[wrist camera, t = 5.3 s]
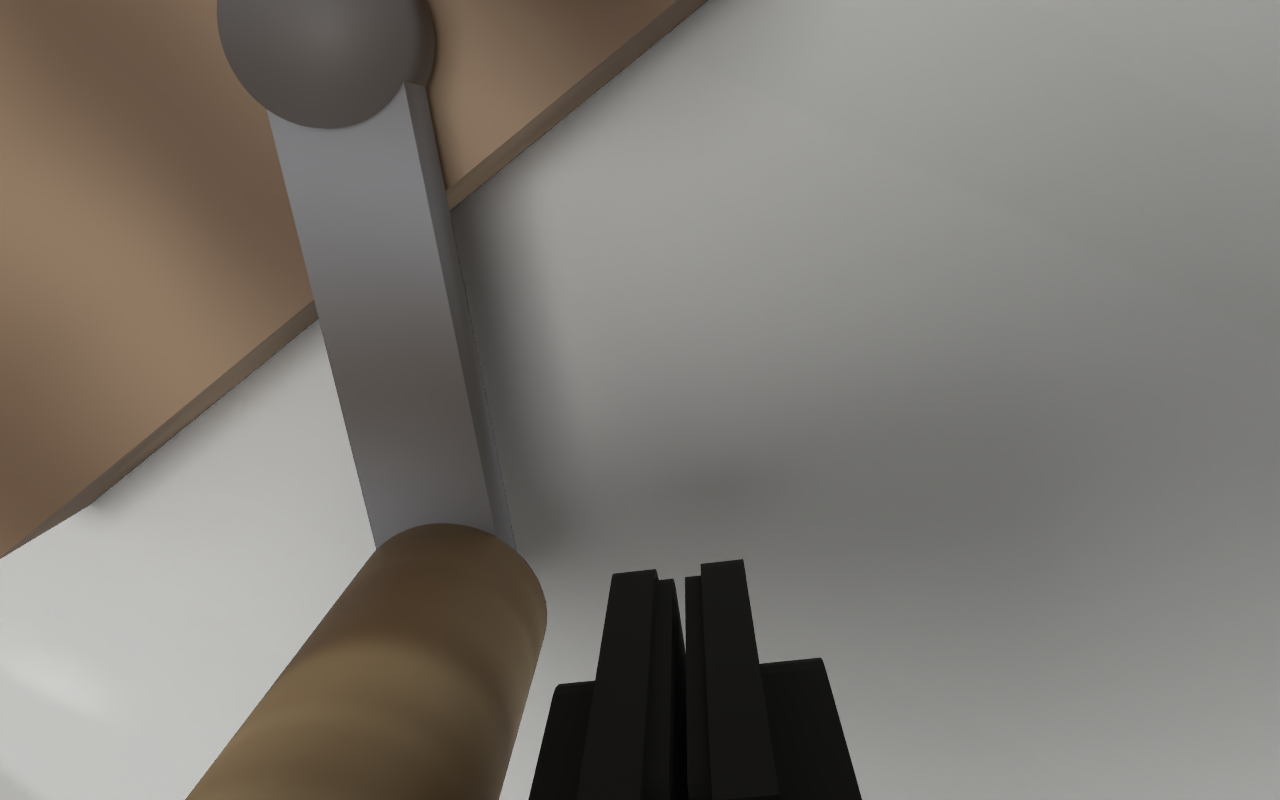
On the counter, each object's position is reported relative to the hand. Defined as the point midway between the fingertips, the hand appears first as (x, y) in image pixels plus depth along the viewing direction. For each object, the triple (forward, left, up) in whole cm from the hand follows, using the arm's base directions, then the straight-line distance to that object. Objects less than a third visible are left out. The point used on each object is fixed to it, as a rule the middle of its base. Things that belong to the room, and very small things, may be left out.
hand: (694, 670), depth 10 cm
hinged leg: (+2, -5, -4) cm, 7 cm away
